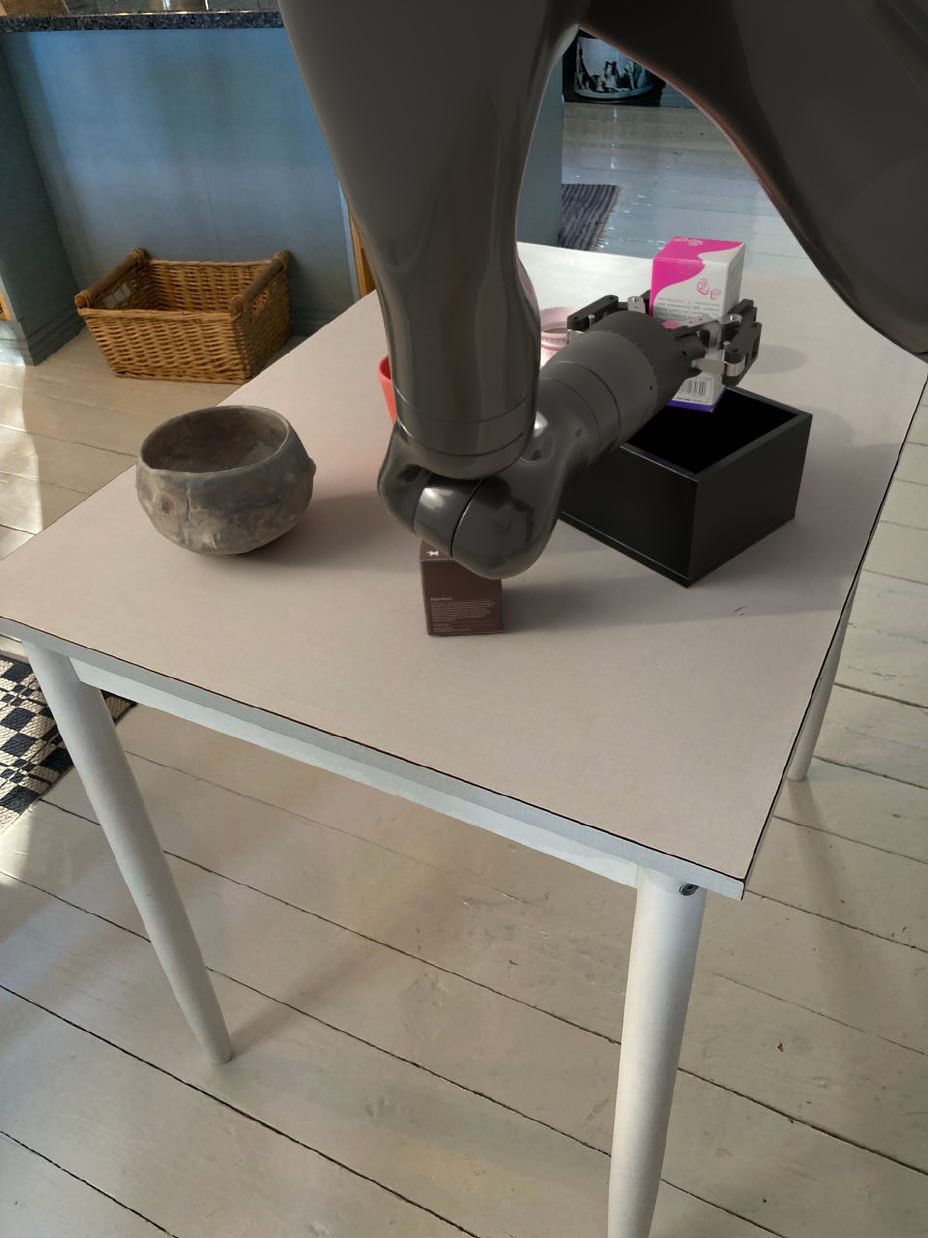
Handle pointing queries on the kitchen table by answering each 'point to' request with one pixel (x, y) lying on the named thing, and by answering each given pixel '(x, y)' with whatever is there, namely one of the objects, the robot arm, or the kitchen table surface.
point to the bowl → (224, 478)
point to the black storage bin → (696, 485)
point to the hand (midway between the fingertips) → (705, 303)
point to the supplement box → (697, 299)
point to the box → (458, 596)
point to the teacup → (554, 330)
